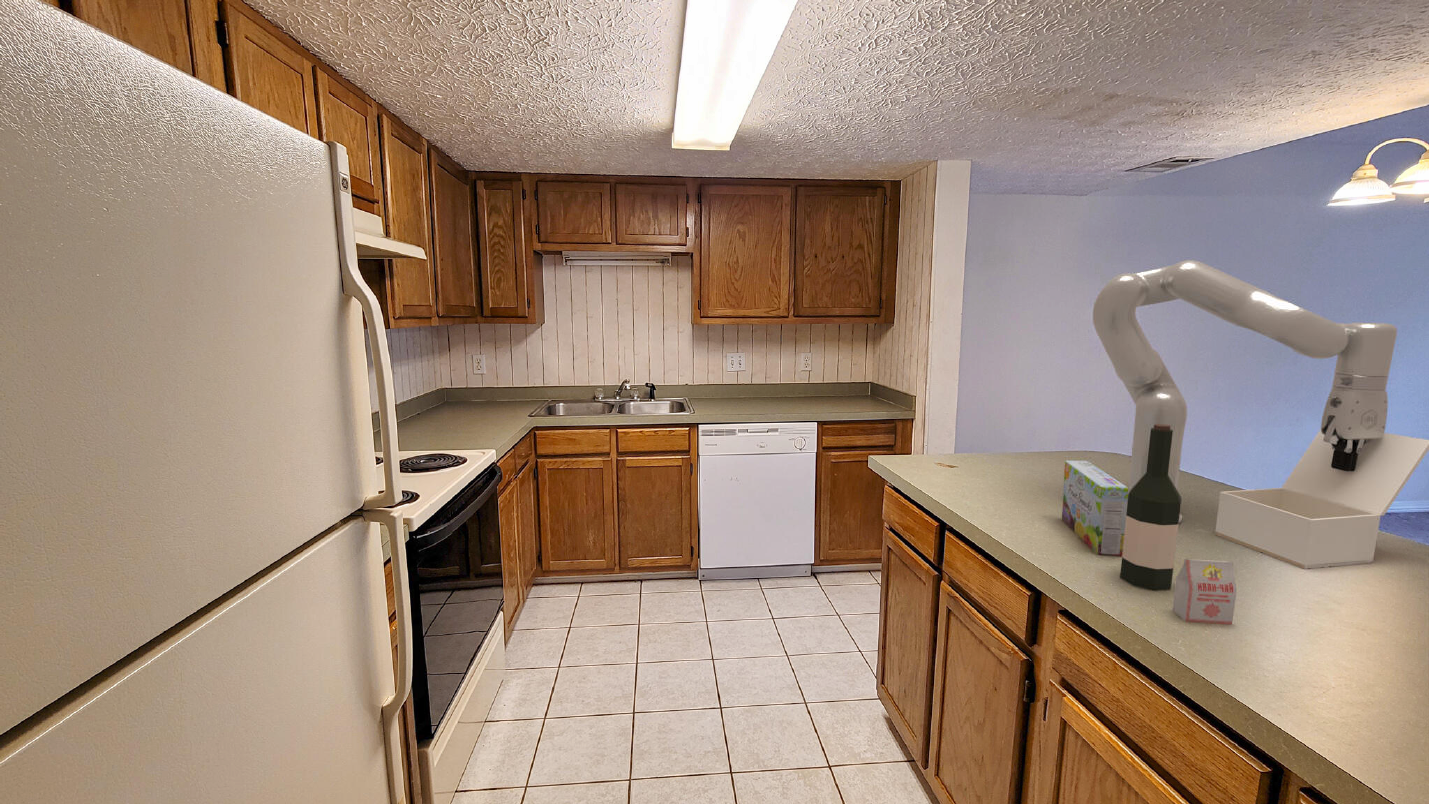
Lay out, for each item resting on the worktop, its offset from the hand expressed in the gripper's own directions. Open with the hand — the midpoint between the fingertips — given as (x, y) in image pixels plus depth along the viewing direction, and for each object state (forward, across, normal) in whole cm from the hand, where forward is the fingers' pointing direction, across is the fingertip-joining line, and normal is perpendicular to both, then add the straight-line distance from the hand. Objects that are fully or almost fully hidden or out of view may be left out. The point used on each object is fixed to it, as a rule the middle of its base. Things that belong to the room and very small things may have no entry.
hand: (1342, 469), depth 125 cm
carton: (+17, -11, -1) cm, 20 cm away
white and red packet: (+17, -54, -22) cm, 61 cm away
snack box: (+18, -47, +12) cm, 51 cm away
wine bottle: (+17, -53, -9) cm, 56 cm away
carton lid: (-1, +2, 0) cm, 2 cm away
